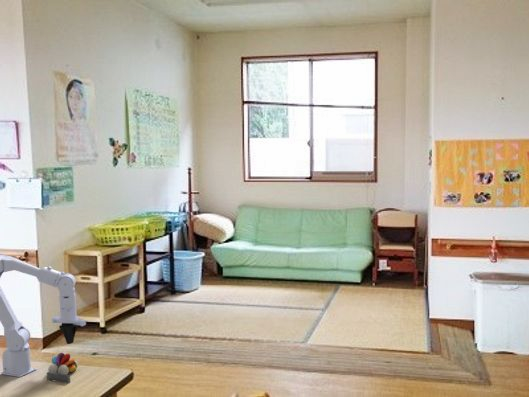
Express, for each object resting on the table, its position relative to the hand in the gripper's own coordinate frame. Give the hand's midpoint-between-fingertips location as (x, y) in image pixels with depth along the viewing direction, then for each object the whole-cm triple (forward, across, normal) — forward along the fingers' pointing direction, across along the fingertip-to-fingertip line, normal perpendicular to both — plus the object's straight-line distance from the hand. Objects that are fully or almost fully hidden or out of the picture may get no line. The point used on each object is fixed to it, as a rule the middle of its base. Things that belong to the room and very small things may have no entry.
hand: (70, 343), depth 212 cm
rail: (+9, -5, +12) cm, 16 cm away
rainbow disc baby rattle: (+10, 0, +4) cm, 11 cm away
